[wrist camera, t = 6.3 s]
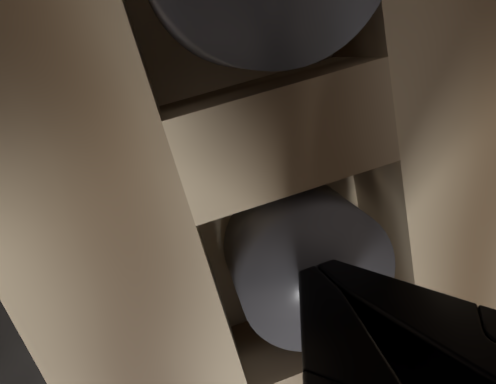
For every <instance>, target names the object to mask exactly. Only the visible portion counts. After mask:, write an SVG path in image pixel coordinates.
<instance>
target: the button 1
mask: <svg viewBox="0 0 496 384" xmlns="http://www.w3.org/2000/svg"><path fill="white" fill-rule="evenodd" d="M224 256H225V260H226V264H227V267H228V270H229V272H230V275H231V278H232V281H233V284H234V286H235V289H236V292H237V295H238V297H239V300H240V303H241V306H242V309H243V311H244V314H245V316H246V319H247V321H248V322H249V324H250V326H251V327H252V328H253V329H254V331H255V332H256V333H257V334H258V335H259V336H260V337H261V338H263V339H264V340H265V341H267V342H269V343H270V344H272V345H274V346H277V347H279V348H282V349H285V350H290V351H296V352H302V350H301V327H300V304H299V282H298V272H299V271H300V270H303V269H306V268H309V267H312V266H316V267H317V265H318V264H320V263H323V262H326V261H329V260H332V259H334V260H338V261H341V262H345V263H348V264H351V265H354V266H357V267H361V268H364V269H367V270H370V271H373V272H377V273H380V274H383V275H386V276H389V277H393V278H394V276H395V255H394V250H393V246H392V244H391V241H390V239H389V237H388V235H387V233H386V232H385V230H384V229H383V228H382V227H381V225H380V224H379V223H378V222H376V221H375V220H374V219H373V218H372V217H370V216H369V215H368V214H366V213H365V212H364V211H362V210H361V209H359V208H358V207H357V206H355V205H354V204H353V203H351V202H350V201H348V200H347V199H346V198H344V197H343V196H341V195H340V194H339V193H337V192H336V191H335V190H333V189H332V188H330V187H329V186H327V185H326V184H325V185H322V186H319V187H316V188H313V189H310V190H307V191H303V192H300V193H297V194H294V195H291V196H288V197H285V198H282V199H279V200H276V201H272V202H269V203H266V204H263V205H260V206H257V207H254V208H251V209H248V210H244V211H241V212H238V213H235V214H232V216H231V218H230V220H229V222H228V225H227V228H226V232H225V236H224Z"/></svg>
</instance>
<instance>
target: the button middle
mask: <svg viewBox="0 0 496 384" xmlns="http://www.w3.org/2000/svg"><path fill="white" fill-rule="evenodd" d="M148 1H149V3H150V5H151V7H152V9H153V11H154V13H155V15H156V17H157V18H158V20H159V21H160V23H161V24H162V26H163V27H164V28H165V29H166V30H167V32H168V33H169V34H170V35H171V36H172V37H173V38H174V39H175V40H176V41H177V42H178V43H179V44H180V45H181V46H183V47H184V48H185V49H187V50H188V51H190V52H191V53H192V54H194V55H196V56H198V57H200V58H202V59H204V60H206V61H208V62H211V63H214V64H217V65H221V66H226V67H231V68H240V69H248V70H257V71H270V72H273V71H288V70H292V69H297V68H302V67H305V66H308V65H311V64H314V63H316V62H319V61H321V60H322V59H324V58H326V57H328V56H330V55H332V54H333V53H335V52H336V51H338V50H339V49H341V48H342V47H343V46H345V45H346V44H347V43H348V42H349V41H350V40H351V39H353V38H354V37H355V36H356V35H357V34H358V33H359V32H360V30H361V29H362V28H363V27H364V26H365V25H366V23H367V22H368V21H369V19H370V18H371V17H372V15H373V14H374V12H375V11H376V9H377V8H378V6H379V4H380V2H381V0H148Z"/></svg>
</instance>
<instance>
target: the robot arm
mask: <svg viewBox="0 0 496 384" xmlns="http://www.w3.org/2000/svg"><path fill="white" fill-rule="evenodd" d="M298 282H299V304H300V327H301V350H302V372H303V374H302V378H303V384H496V309H493V308H489V307H486V306H483V305H479V306H477V304H476V303H473V302H470V301H467V300H463V299H460V298H457V297H454V296H450V295H447V294H444V293H441V292H438V291H434V290H431V289H428V288H425V287H422V286H418V285H415V284H412V283H409V282H406V281H402V280H399V279H396V278H393V277H389V276H386V275H383V274H380V273H377V272H373V271H370V270H367V269H364V268H361V267H357V266H354V265H351V264H348V263H345V262H341V261H338V260H334V259H332V260H329V261H326V262H323V263H320V264H318V265H317V267H316V266H312V267H309V268H306V269H303V270H300V271H299V272H298Z"/></svg>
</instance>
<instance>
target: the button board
mask: <svg viewBox="0 0 496 384" xmlns="http://www.w3.org/2000/svg"><path fill="white" fill-rule="evenodd" d="M325 184H326V185H327V186H329V187H330V188H332V189H333V190H335V191H336V192H337V193H339V194H340V195H341V196H343V197H344V198H346V199H347V200H348V201H350V202H351V203H353V204H354V205H355V206H357V207H358V208H359V209H361V210H362V211H364V212H365V213H366V214H368V215H369V216H370V217H372V218H373V219H374V220H375V221H376V222H378V223H379V224H380V225H381V227H382V228H383V229H384V230H385V232H386V233H387V235H388V237H389V239H390V241H391V244H392V246H393V250H394V255H395V276H394V278H396V279H399V280H402V281H406V282H409V283H412V284H415V285H418V286H422V287H425V288H428V289H431V290H434V291H438V292H441V293H444V294H447V295H450V296H454V297H457V298H460V299H463V300H467V301H470V302H473V303H476V304H477V306H479V305H483V306H486V307H489V308H493V309H496V0H381V2H380V4H379V6H378V8H377V9H376V11H375V12H374V14H373V15H372V17H371V18H370V19H369V21H368V22H367V23H366V25H365V26H364V27H363V28H362V29H361V30H360V32H359V33H358V34H357V35H356V36H355V37H354V38H353V39H351V40H350V41H349V42H348V43H347V44H346V45H345V46H343V47H342V48H341V49H339V50H338V51H336V52H335V53H333V54H332V55H330V56H328V57H326V58H324V59H322V60H321V61H319V62H316V63H314V64H311V65H308V66H305V67H302V68H297V69H292V70H288V71H273V72H270V71H257V70H248V69H240V68H231V67H226V66H221V65H217V64H214V63H211V62H208V61H206V60H204V59H202V58H200V57H198V56H196V55H194V54H192V53H191V52H190V51H188V50H187V49H185V48H184V47H183V46H181V45H180V44H179V43H178V42H177V41H176V40H175V39H174V38H173V37H172V36H171V35H170V34H169V33H168V32H167V30H166V29H165V28H164V27H163V26H162V24H161V23H160V21H159V20H158V18H157V17H156V15H155V13H154V11H153V9H152V7H151V5H150V3H149V1H148V0H0V300H1V302H2V304H3V306H4V308H5V309H6V311H7V313H8V315H9V316H10V318H11V320H12V322H13V324H14V325H15V327H16V329H17V331H18V333H19V334H20V336H21V338H22V340H23V341H24V343H25V345H26V347H27V349H28V350H29V352H30V354H31V356H32V358H33V359H34V361H35V363H36V365H37V366H38V368H39V370H40V372H41V374H42V375H43V377H44V379H45V381H46V383H47V384H303V378H302V374H303V372H302V352H296V351H290V350H285V349H282V348H279V347H277V346H274V345H272V344H270V343H269V342H267V341H265V340H264V339H263V338H261V337H260V336H259V335H258V334H257V333H256V332H255V331H254V329H253V328H252V327H251V326H250V324H249V322H248V321H247V319H246V316H245V314H244V311H243V309H242V306H241V303H240V300H239V297H238V295H237V292H236V289H235V286H234V284H233V281H232V278H231V275H230V272H229V270H228V267H227V264H226V260H225V256H224V236H225V232H226V228H227V225H228V222H229V220H230V218H231V216H232V214H235V213H238V212H241V211H244V210H248V209H251V208H254V207H257V206H260V205H263V204H266V203H269V202H272V201H276V200H279V199H282V198H285V197H288V196H291V195H294V194H297V193H300V192H303V191H307V190H310V189H313V188H316V187H319V186H322V185H325Z"/></svg>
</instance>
